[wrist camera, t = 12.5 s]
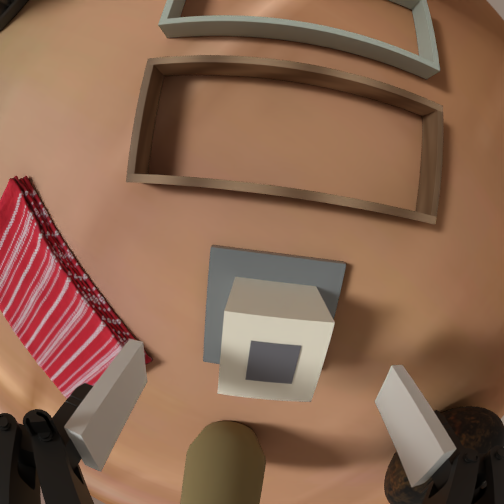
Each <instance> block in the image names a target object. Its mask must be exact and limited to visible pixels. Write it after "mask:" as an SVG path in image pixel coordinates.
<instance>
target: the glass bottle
mask: <svg viewBox="0 0 504 504" xmlns="http://www.w3.org/2000/svg"><path fill="white" fill-rule="evenodd" d="M441 414H442V415H444V417H445V418H446V420H447V421H448V424H449V425H450V426H451V429H453V431H454V432H455V434H456V436H457V437H458V439H459V440H460V442H461V444H462V445H463V447H464V448H471V449H473V450H475V451H476V452H477V453H478V454H483V453H488V452H489V451H490V450H491V449H492V448H493V447H494V446H497V445H498V446H502V447H503V448H504V425H503V423H502V421H501V419H500V418H499V417H498V416H497V415H496V414H495V413H493V412H492V411H490V410H487V409H485V408H481V407H460V408H455V409H451V410H448V411H445V412H443V413H441ZM432 481H433V479H432V477H430V478H429V479H428V480H427V481H426V482H425V483H423V484H420V485H417V486H414V487H411V485H410V482H409V480H408V477H407V475H406V472H405V470H404V467H403V465H402V462H401V460H400V458H399V455H398V453H397V451H396V453H395V454H394V456H393V458H392V460H391V462H390V464H389V466H388V469H387V472H386V476H385V482H384V490H385V495H386V497H387V500H388V501H389V503H390V504H422V502H423V500H424V498H425V495H426V493H427V490H428V489H427V490H426V491H425V492H424V493H421V492H422V490H423V489H424V488H425V487H426V486H428V485H429V484H430V483H431V482H432ZM486 486H487V483H486V482H485V483H484V484H483V487H484V488H485V487H486Z"/></svg>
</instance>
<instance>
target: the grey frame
mask: <svg viewBox="0 0 504 504" xmlns="http://www.w3.org/2000/svg"><path fill="white" fill-rule="evenodd" d="M185 1H186V0H167V2H166V4H165V7H164V10H163V13H162V15H161V18H160V21H159V24H158V25H159V27H160V28H161V30H162V31H163V33H164V34H165V35H166V37H167V38H174V37H188V36H246V37H260V38H271V39H280V40H288V41H295V42H301V43H307V44H313V45H318V46H323V47H328V48H332V49H337V50H341V51H345V52H349V53H353V54H356V55H360V56H364V57H367V58H370V59H373V60H377V61H380V62H383V63H386V64H389V65H392V66H394V67H397V68H400V69H402V70H405V71H408V72H410V73H413V74H415V75H417V76H420V77H422V78H424V79H428V78H430V77H431V76H433V75H435V74H436V73H438V72H440V66H439V58H438V51H437V45H436V40H435V34H434V29H433V25H432V20H431V16H430V12H429V8H428V4H427V1H426V0H389V1H392V2H394V3H397V4H399V5H402V6H404V7H407V8H409V9H411V10H412V13H413V18H414V23H415V29H416V35H417V42H418V50H419V56H418V55H416V54H413V53H411V52H408V51H406V50H403V49H401V48H398V47H396V46H393V45H390V44H387V43H385V42H382V41H379V40H376V39H373V38H369V37H366V36H363V35H359V34H356V33H352V32H348V31H345V30H341V29H336V28H332V27H327V26H323V25H318V24H312V23H307V22H301V21H294V20H287V19H278V18H268V17H255V16H229V15H219V16H192V17H180V16H181V13H182V10H183V7H184V4H185Z"/></svg>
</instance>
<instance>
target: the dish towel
mask: <svg viewBox="0 0 504 504" xmlns="http://www.w3.org/2000/svg"><path fill="white" fill-rule="evenodd" d="M0 310H1V311H2V313H3V315H4V317H5V318H6V319H7V321H8V322H9V324H10V326H11V327H12V329H13V331H14V332H15V334H16V335H17V336H18V337H19V339H20V340H21V342H22V343H23V345H24V346H25V348H26V349H27V350H28V351H29V352H30V354H31V355H32V357H33V358H34V359H35V360H36V362H37V363H38V365H39V366H40V367H41V368H42V369H43V370H44V372H45V373H46V374H47V375H48V377H49V378H50V379H51V380H52V381H53V382H54V384H55V385H56V386H57V388H58V389H59V390H60V391H61V393H62V394H63V395H64V396H65V397H66V398H68V397H69V396H70V395H71V393H72V392H73V391H74V390H75V388H77V387H78V386H80V385H82V384H83V383H87V384H89V385H92V386H94V385H95V383H96V382H97V381H98V379H99V378H100V377H101V375H102V374H103V373H104V371H105V370H106V369H107V368H108V366H109V365H110V364H111V362H112V361H113V360H114V358H115V357H116V356H117V355H118V353H119V352H120V351H121V349H122V348H123V347H124V346H125V344H126V343H127V342H128V341H129V339H133V340H136V339H135V338H134V337H133V336H132V334H131V333H130V332H129V331H128V330H127V328H126V327H125V325H124V324H123V323H122V321H121V320H120V319H119V318H118V317H117V316H116V314H115V313H114V312H113V310H112V309H111V308H110V306H109V305H108V304H107V302H106V300H105V299H104V297H103V296H102V295H101V294H100V293H99V291H98V290H97V289H96V287H95V286H94V285H93V283H92V282H91V281H90V279H89V277H88V275H87V274H85V272H84V271H83V270H82V268H81V267H80V265H79V264H78V263H77V261H76V260H75V258H74V256H73V254H72V253H71V251H70V250H69V249H68V247H67V245H66V244H65V242H64V241H63V239H62V237H61V236H60V234H59V232H58V231H57V230H56V228H55V226H54V224H53V222H52V220H51V219H50V217H49V215H48V213H47V211H46V209H45V208H44V206H43V204H42V202H41V201H40V199H39V197H38V195H37V193H36V191H35V190H34V189H33V187H32V185H31V183H30V181H29V179H28V177H27V176H25V177H24V178H21V179H18V177H17V176H15V177H14V178H10V179H9V182H8V185H7V187H6V189H5V191H4V193H3V195H2V197H1V200H0ZM144 356H145V365H146V364H148V363H150V362H151V361H152V360H153V359H152V358H151V357H149V356H148V355H147V353H146V352H145V350H144Z"/></svg>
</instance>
